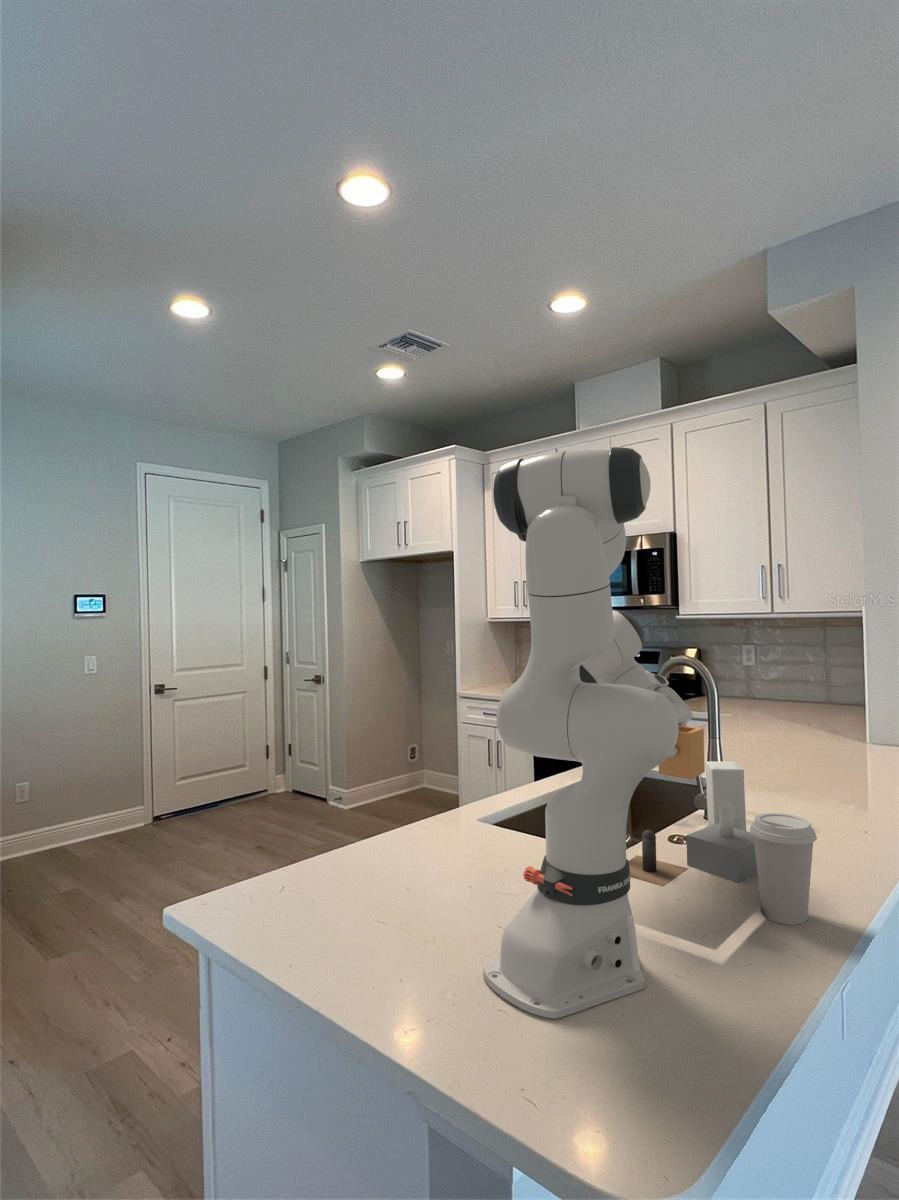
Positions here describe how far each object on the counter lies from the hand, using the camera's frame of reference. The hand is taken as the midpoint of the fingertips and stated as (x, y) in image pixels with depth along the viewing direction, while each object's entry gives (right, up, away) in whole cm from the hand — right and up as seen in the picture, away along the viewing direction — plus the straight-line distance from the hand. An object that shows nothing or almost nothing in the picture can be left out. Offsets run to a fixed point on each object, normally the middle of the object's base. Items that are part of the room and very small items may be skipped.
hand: (685, 750), depth 126 cm
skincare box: (+15, -23, +18) cm, 32 cm away
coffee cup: (+10, -23, -16) cm, 30 cm away
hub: (+8, -23, +1) cm, 24 cm away
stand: (-6, -23, 0) cm, 24 cm away
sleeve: (0, -4, +1) cm, 4 cm away
